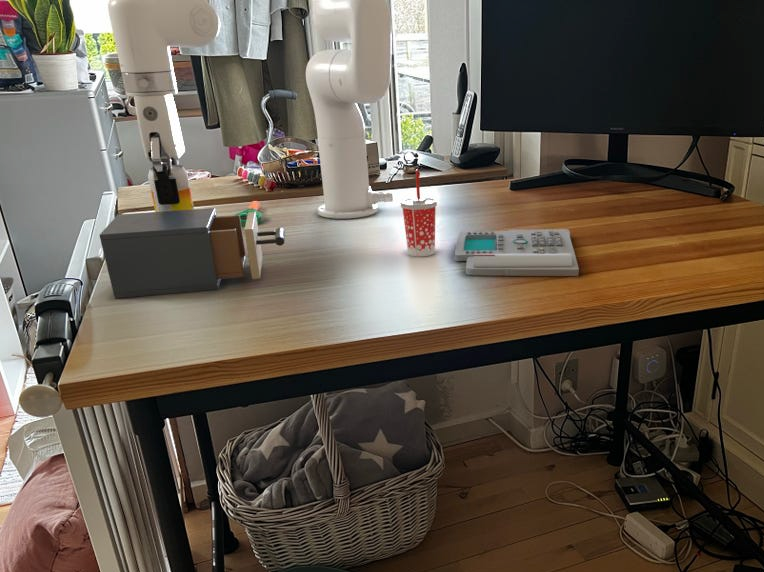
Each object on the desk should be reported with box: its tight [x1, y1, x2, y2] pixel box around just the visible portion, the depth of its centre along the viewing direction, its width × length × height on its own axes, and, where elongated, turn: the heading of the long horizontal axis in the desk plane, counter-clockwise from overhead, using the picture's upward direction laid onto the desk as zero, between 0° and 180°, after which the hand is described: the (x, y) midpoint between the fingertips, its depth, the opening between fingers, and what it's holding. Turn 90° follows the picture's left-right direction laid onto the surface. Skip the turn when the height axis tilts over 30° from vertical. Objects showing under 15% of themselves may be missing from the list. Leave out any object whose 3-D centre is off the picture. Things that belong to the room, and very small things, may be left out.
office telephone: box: [454, 228, 580, 277], centre depth 123 cm, size 23×3×20 cm
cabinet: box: [99, 207, 222, 299], centre depth 112 cm, size 15×13×10 cm
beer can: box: [147, 164, 195, 212], centre depth 122 cm, size 6×6×15 cm
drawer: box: [209, 212, 286, 280], centre depth 114 cm, size 18×11×8 cm, turn 104°
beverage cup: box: [399, 169, 438, 258], centre depth 123 cm, size 6×6×14 cm
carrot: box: [234, 200, 263, 227], centre depth 151 cm, size 15×6×2 cm, turn 7°
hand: (172, 198), depth 121 cm, fingers closed on beer can, 6 cm apart
